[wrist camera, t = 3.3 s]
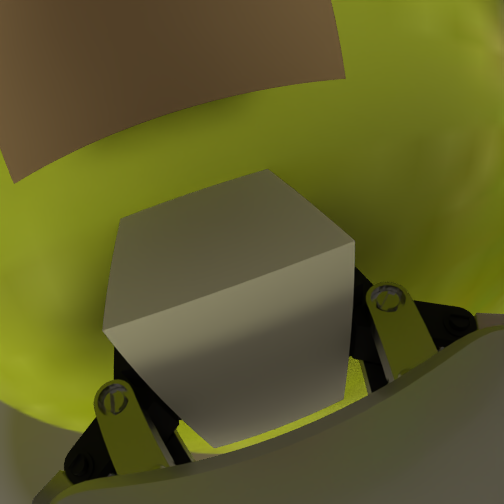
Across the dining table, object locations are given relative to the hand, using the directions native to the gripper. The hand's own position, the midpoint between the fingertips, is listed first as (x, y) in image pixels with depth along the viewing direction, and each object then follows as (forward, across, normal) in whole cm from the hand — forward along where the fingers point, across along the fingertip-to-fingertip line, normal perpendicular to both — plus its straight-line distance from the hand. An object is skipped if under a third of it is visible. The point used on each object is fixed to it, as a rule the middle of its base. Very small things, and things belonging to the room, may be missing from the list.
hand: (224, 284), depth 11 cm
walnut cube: (+1, 0, -9) cm, 9 cm away
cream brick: (+1, 0, 0) cm, 1 cm away
